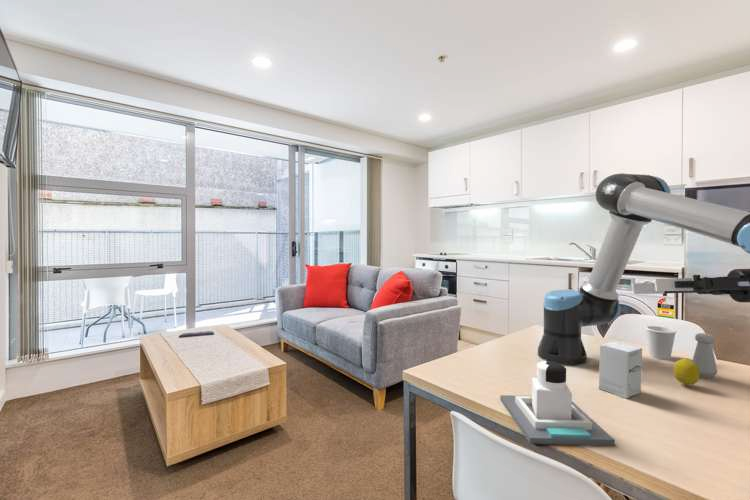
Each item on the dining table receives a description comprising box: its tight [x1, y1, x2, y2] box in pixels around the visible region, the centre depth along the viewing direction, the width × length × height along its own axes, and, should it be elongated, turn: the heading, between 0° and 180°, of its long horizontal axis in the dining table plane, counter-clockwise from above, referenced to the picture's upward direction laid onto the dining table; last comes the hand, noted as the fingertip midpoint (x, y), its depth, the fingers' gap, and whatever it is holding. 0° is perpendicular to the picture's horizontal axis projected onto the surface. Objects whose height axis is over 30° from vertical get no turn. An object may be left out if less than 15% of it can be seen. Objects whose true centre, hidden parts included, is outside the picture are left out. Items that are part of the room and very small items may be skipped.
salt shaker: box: [691, 332, 718, 380], centre depth 104 cm, size 6×6×13 cm
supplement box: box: [598, 341, 643, 400], centre depth 94 cm, size 7×7×13 cm
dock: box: [499, 394, 616, 446], centre depth 80 cm, size 19×17×3 cm
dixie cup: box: [645, 325, 677, 361], centre depth 121 cm, size 8×8×10 cm
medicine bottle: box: [531, 360, 573, 420], centre depth 80 cm, size 7×7×12 cm
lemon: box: [673, 357, 700, 387], centre depth 98 cm, size 6×6×8 cm
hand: (643, 286), depth 83 cm, fingers open, 13 cm apart
